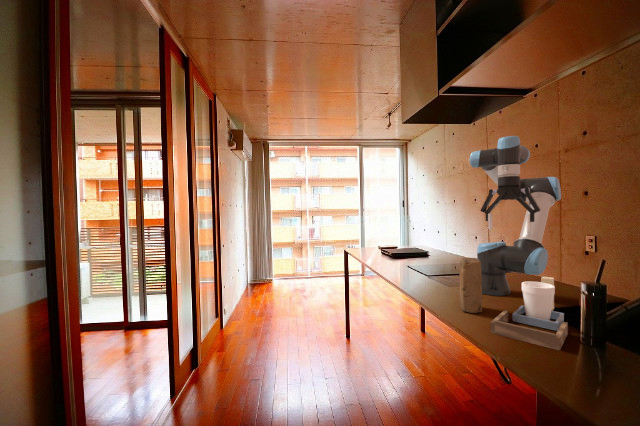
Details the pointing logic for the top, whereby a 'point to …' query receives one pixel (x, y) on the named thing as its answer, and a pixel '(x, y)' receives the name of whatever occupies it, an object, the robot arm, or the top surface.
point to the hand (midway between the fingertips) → (509, 230)
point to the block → (470, 285)
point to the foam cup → (538, 299)
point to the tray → (537, 322)
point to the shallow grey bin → (528, 332)
